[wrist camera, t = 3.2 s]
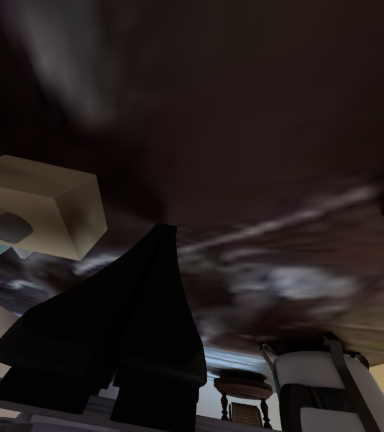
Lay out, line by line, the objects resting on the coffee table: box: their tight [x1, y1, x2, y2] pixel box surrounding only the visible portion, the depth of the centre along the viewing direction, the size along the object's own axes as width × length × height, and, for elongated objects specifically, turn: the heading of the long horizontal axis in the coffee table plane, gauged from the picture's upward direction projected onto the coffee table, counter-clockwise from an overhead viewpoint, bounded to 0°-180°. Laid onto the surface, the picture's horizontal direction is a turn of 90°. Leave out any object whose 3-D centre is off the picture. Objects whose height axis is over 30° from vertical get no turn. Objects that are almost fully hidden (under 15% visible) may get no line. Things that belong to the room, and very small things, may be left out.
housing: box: [0, 155, 107, 261], centre depth 10 cm, size 5×6×4 cm
